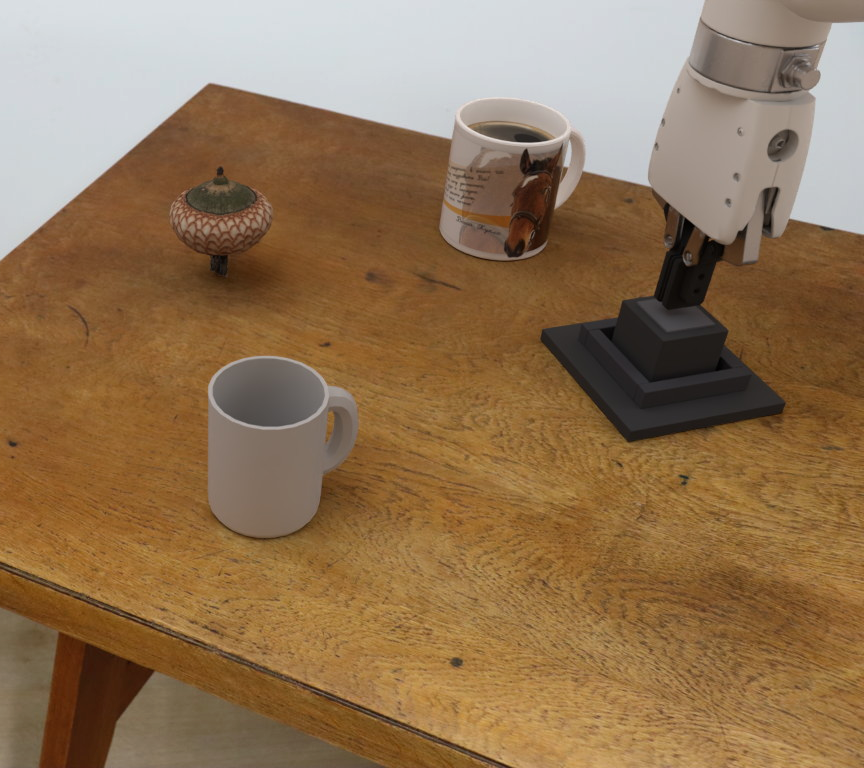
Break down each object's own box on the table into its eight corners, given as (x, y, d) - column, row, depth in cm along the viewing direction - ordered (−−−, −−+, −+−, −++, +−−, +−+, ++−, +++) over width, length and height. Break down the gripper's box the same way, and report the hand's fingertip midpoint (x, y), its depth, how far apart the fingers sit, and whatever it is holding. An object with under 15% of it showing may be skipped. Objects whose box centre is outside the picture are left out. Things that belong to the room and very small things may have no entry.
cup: (190, 480, 72) (189, 371, 67) (326, 443, 76) (336, 336, 71) (234, 554, 67) (236, 442, 62) (378, 510, 71) (392, 400, 66)
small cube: (712, 380, 82) (730, 328, 79) (648, 391, 81) (664, 338, 78) (670, 339, 86) (686, 288, 84) (608, 349, 85) (622, 297, 82)
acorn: (289, 284, 92) (295, 175, 86) (204, 313, 88) (205, 201, 82) (234, 241, 97) (236, 135, 91) (152, 267, 93) (148, 158, 87)
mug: (444, 198, 106) (460, 87, 99) (571, 215, 104) (596, 103, 97) (434, 252, 97) (451, 135, 91) (572, 272, 96) (600, 154, 89)
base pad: (782, 413, 81) (793, 385, 80) (627, 442, 78) (636, 414, 76) (681, 317, 91) (689, 291, 89) (539, 339, 87) (545, 312, 86)
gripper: (887, 98, 65) (786, 353, 76) (732, 11, 76) (664, 244, 87) (779, 109, 63) (692, 369, 74) (637, 18, 74) (580, 256, 85)
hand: (677, 301), depth 80 cm, fingers closed
